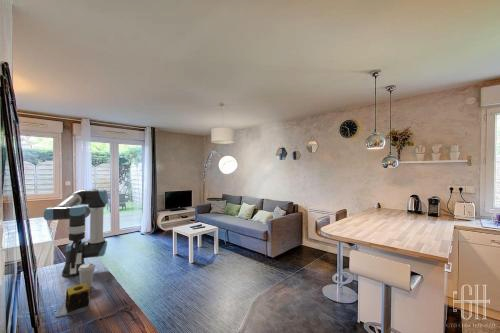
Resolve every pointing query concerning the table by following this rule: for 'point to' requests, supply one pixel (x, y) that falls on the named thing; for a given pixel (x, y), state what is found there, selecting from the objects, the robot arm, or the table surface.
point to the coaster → (64, 312)
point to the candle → (77, 297)
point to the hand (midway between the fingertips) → (75, 268)
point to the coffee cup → (86, 273)
